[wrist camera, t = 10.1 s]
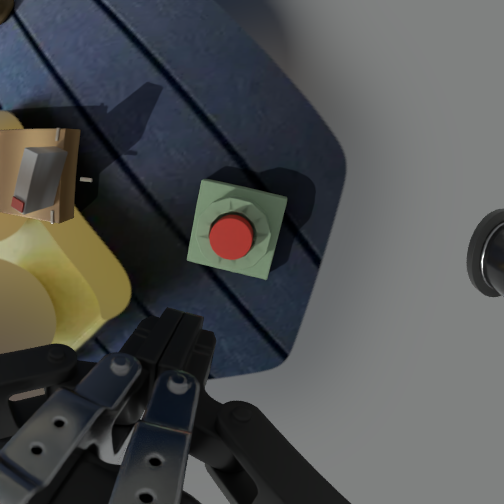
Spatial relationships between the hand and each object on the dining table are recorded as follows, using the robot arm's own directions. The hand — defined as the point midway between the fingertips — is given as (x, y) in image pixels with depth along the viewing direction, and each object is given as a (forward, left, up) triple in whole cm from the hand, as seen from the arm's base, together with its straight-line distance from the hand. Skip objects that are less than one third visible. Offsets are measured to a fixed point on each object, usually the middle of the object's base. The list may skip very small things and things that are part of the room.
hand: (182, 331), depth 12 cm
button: (0, 0, -17) cm, 17 cm away
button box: (0, 0, -20) cm, 20 cm away
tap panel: (+25, +8, -20) cm, 33 cm away
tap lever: (+19, +5, -17) cm, 26 cm away
